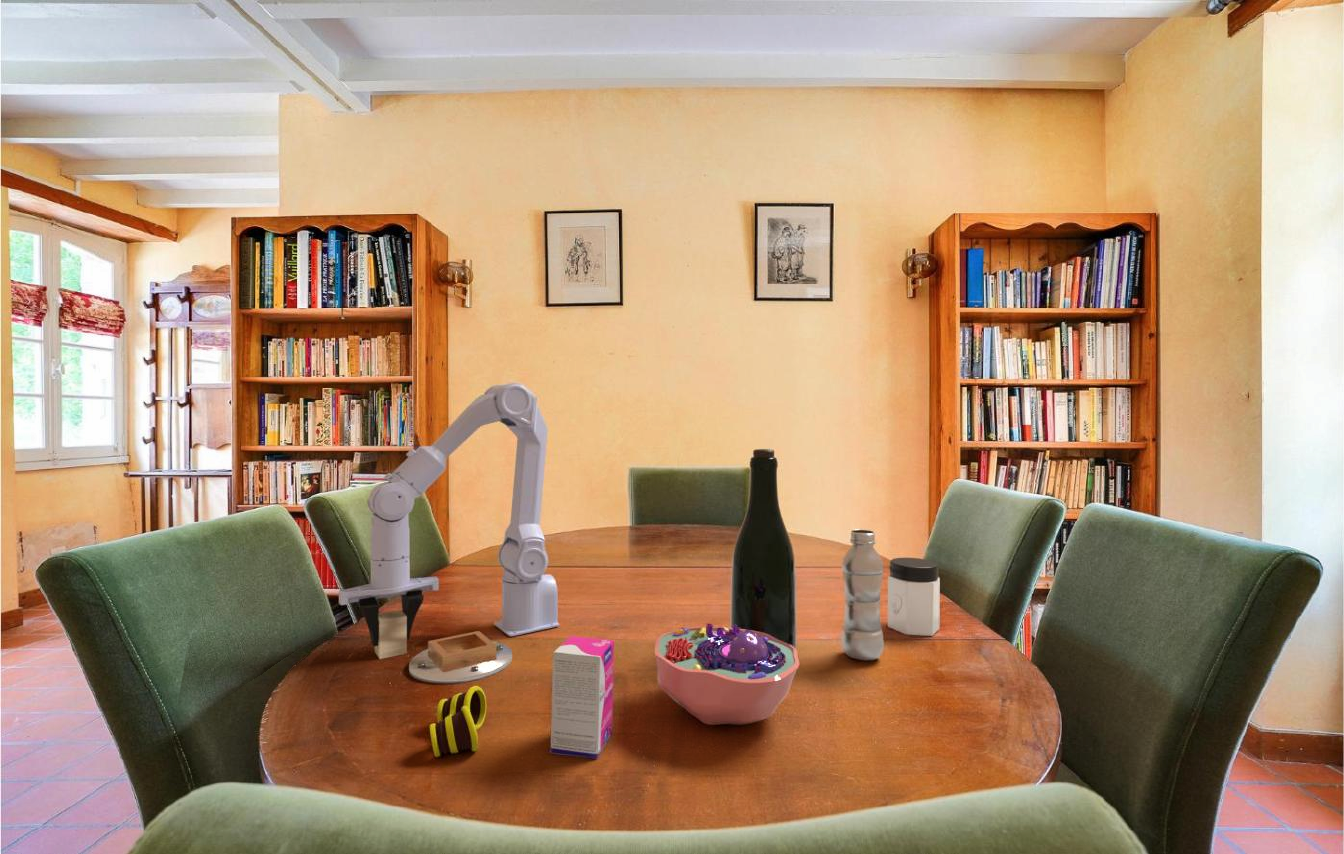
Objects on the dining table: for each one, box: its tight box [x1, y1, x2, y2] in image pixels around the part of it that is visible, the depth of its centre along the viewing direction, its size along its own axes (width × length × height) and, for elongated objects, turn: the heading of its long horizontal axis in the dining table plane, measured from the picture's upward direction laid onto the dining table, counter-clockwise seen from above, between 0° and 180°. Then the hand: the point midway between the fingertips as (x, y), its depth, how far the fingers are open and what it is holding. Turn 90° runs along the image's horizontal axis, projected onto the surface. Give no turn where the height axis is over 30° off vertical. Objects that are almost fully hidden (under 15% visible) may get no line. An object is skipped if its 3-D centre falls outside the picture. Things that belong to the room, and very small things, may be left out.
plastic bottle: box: [840, 529, 885, 661], centre depth 96 cm, size 6×7×20 cm
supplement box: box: [549, 635, 615, 759], centre depth 70 cm, size 6×6×12 cm
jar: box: [887, 557, 941, 637], centre depth 110 cm, size 9×8×12 cm
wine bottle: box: [729, 448, 797, 650], centre depth 97 cm, size 10×10×33 cm
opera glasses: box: [429, 685, 487, 758], centre depth 72 cm, size 10×5×5 cm, turn 11°
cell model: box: [654, 622, 800, 726], centre depth 78 cm, size 17×20×11 cm
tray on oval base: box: [408, 630, 513, 685], centre depth 94 cm, size 15×15×3 cm
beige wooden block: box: [374, 609, 408, 660], centre depth 98 cm, size 4×4×6 cm
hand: (390, 641), depth 98 cm, fingers closed on beige wooden block, 4 cm apart
